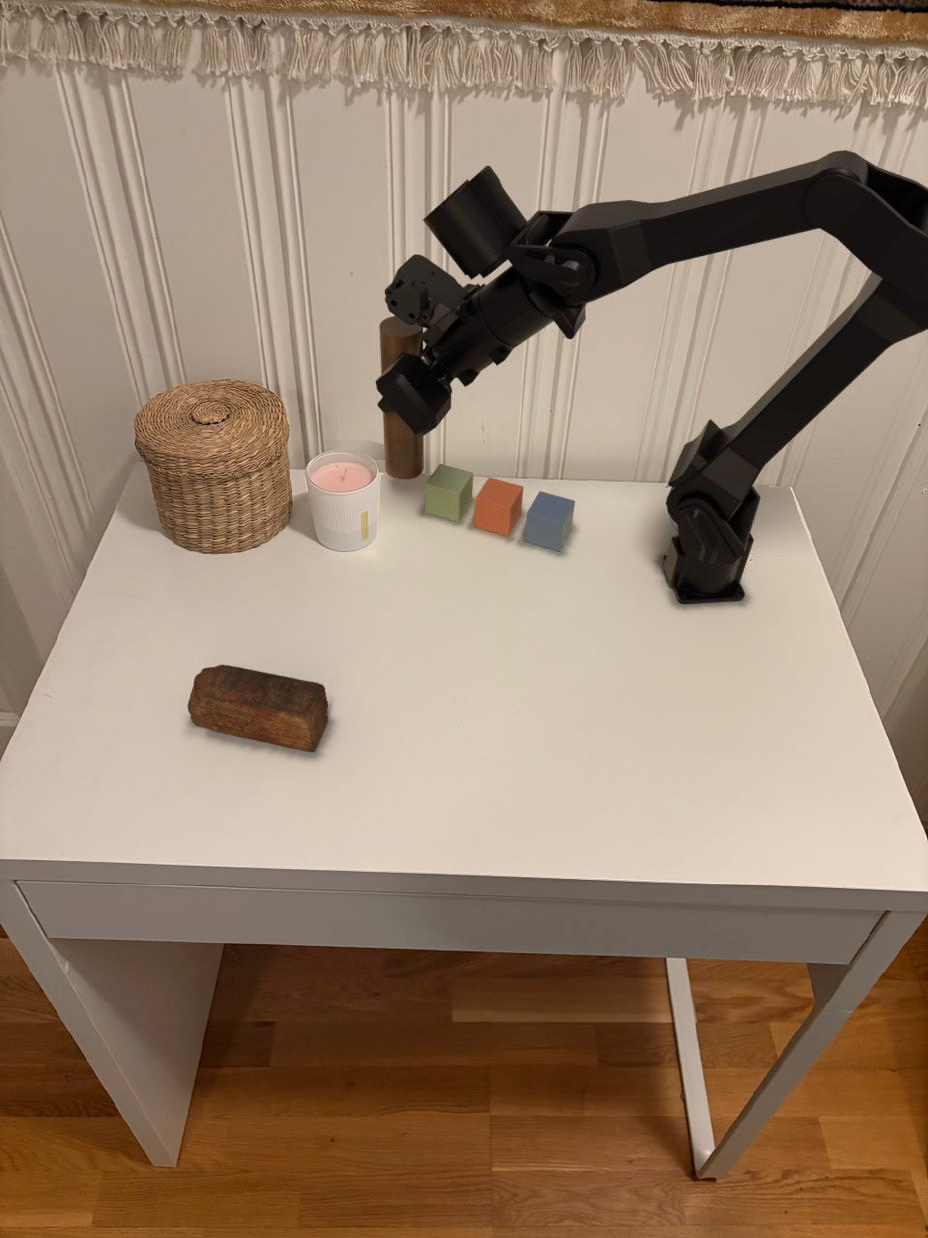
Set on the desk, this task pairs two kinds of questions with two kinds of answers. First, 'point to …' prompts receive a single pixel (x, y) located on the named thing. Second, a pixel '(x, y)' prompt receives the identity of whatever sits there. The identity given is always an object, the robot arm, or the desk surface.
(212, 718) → the brick
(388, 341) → the walnut cylinder
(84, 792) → the desk surface
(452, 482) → the colored block line
